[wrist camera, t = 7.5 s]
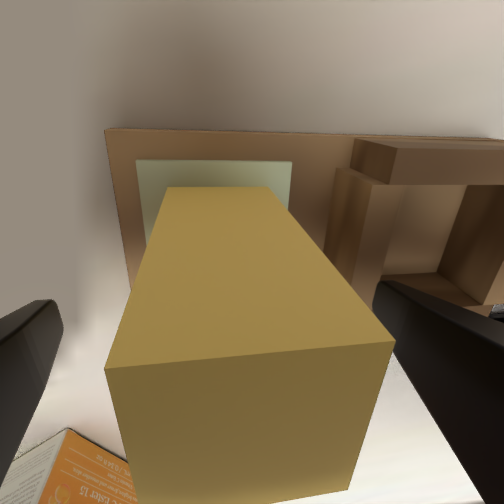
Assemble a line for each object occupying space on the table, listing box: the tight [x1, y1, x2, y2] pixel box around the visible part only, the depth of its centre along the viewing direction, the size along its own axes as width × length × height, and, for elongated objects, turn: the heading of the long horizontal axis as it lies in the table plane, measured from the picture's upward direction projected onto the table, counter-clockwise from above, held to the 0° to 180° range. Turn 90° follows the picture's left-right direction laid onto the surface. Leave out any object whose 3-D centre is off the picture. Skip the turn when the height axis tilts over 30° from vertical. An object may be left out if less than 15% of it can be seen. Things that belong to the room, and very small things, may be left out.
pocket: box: [323, 138, 504, 317], centre depth 13 cm, size 8×8×3 cm
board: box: [104, 128, 504, 290], centre depth 14 cm, size 8×17×1 cm, turn 88°
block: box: [104, 187, 396, 504], centre depth 9 cm, size 4×4×9 cm
